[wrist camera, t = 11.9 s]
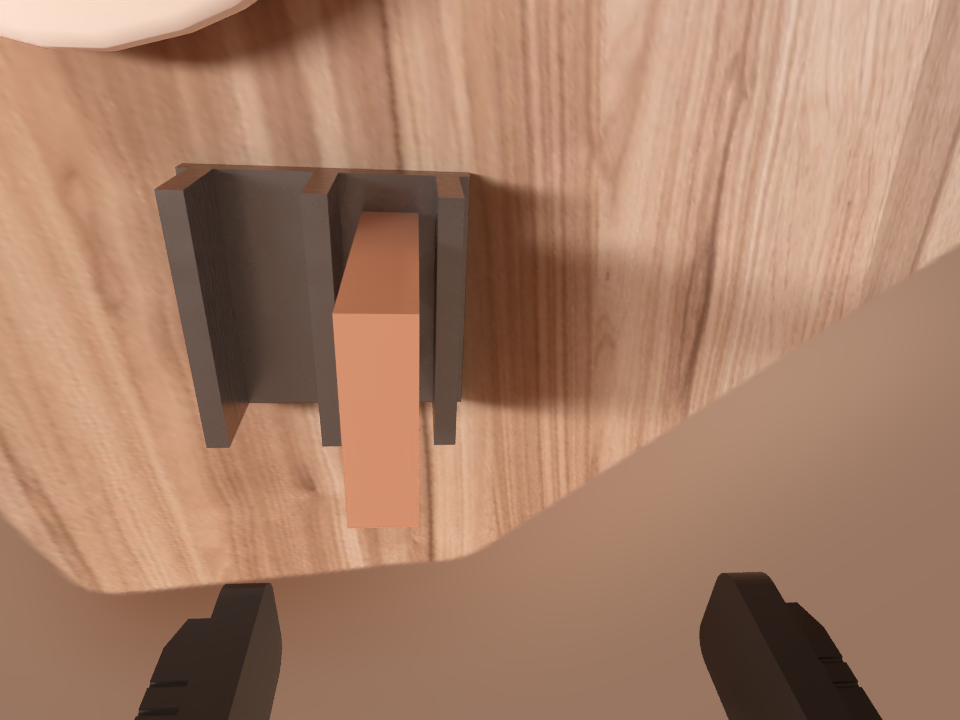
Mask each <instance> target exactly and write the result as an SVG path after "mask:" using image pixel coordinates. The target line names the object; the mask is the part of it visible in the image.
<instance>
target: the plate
mask: <svg viewBox="0 0 960 720" xmlns="http://www.w3.org/2000/svg"><path fill="white" fill-rule="evenodd" d="M256 1H258V0H0V36H1V37H5V38H9V39H13V40H16V41H20V42H24V43H28V44H32V45H36V46H40V47H44V48H47V49H51V50H70V51H108V52H115V51H119V50H123V49H127V48H131V47H135V46H140V45H144V44H148V43H152V42H156V41H160V40H165V39H169V38H173V37H177V36H181V35H186V34H190V33H193V32H195V31H198V30H200V29H202V28H204V27H207V26H209V25H211V24H213V23H216V22H218V21H220V20H222V19H224V18H227V17H229V16H231V15H233V14H236V13H238V12H240V11H242V10H245V9H246V8H247V7H249V6H250V5H252V4H253V3H255V2H256Z"/></svg>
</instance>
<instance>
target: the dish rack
mask: <svg viewBox="0 0 960 720" xmlns="http://www.w3.org/2000/svg"><path fill="white" fill-rule="evenodd" d="M175 169H176V174H177V175H176V176H174V177H173V178H171V179H170V180H168V181H167V182H165V183H164V184H162V185H160V186H159V187H157V188H156V189H154V190H155V195H156V200H157V205H158V210H159V215H160V220H161V225H162V230H163V235H164V240H165V245H166V249H167V254H168V259H169V264H170V269H171V274H172V279H173V284H174V289H175V294H176V299H177V304H178V309H179V314H180V318H181V323H182V328H183V333H184V338H185V343H186V348H187V353H188V358H189V363H190V368H191V373H192V378H193V383H194V387H195V392H196V397H197V402H198V407H199V412H200V417H201V422H202V427H203V432H204V437H205V442H206V447H207V448H230V445H231V443H232V441H233V438H234V436H235V434H236V432H237V429H238V427H239V425H240V423H241V420H242V418H243V416H244V413H245V411H246V409H247V407H248V404H249V403H319V412H320V424H321V435H322V446H342V443H341V428H340V414H339V400H338V386H337V372H336V358H335V344H334V330H333V315H332V313H333V310H334V306H335V303H336V299H337V296H338V292H339V289H340V285H341V282H342V278H343V275H344V271H345V268H346V264H347V261H348V257H349V254H350V250H351V247H352V244H353V240H354V237H355V233H356V230H357V226H358V223H359V219H360V216H361V212H400V213H419V402H432V406H433V430H434V445H455V437H456V411H457V402H461V385H462V361H463V337H464V313H465V289H466V265H467V241H468V217H469V193H470V175H469V173H465V172H434V171H403V170H372V169H341V168H310V167H279V166H247V165H216V164H185V163H182V164H180V165H178V166H177V167H175Z"/></svg>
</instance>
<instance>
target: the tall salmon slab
mask: <svg viewBox="0 0 960 720" xmlns="http://www.w3.org/2000/svg"><path fill="white" fill-rule="evenodd" d="M332 315H333V330H334V344H335V358H336V372H337V386H338V400H339V414H340V428H341V443H342V457H343V471H344V485H345V499H346V513H347V527H348V528H382V527H419V213H400V212H361V216H360V219H359V223H358V226H357V230H356V233H355V237H354V240H353V244H352V247H351V250H350V254H349V257H348V261H347V264H346V268H345V271H344V275H343V278H342V282H341V285H340V289H339V292H338V296H337V299H336V303H335V306H334V310H333V313H332Z"/></svg>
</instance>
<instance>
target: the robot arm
mask: <svg viewBox="0 0 960 720" xmlns="http://www.w3.org/2000/svg"><path fill="white" fill-rule="evenodd" d="M281 640H282V639H281V632H280V626H279V621H278V615H277V609H276V604H275V598H274V592H273V587H272V585H271V583H244V584H225V585H224V586H223V588H222V589H221V591H220V594H219V596H218V599H217V602H216V605H215V608H214V611H213V614H212V616H211V618H208V619H207V618H205V619H188V620H187V621H186V622H185V623H184V625H183V626H182V627H181V628H180V629H179V631H178V632H177V633H176V634H175V635H174V636H173V638H172V639H171V640H170V641H169V642H168V643H167V645H166V646H165V647H164V648H163V651H162V653H161V656H160V658H159V661H158V663H157V666H156V668H155V671H154V673H153V676H152V678H151V680H150V687H149V688H147V690H146V693H145V695H144V698H143V700H142V703H141V705H140V707H139V714H138V716H136V718H135V720H269V718H270V714H271V709H272V705H273V700H274V695H275V691H276V686H277V682H278V677H279V672H280V665H281V655H282V641H281ZM700 647H701V651H702V655H703V658H704V661H705V664H706V666H707V669H708V671H709V673H710V676H711V678H712V681H713V683H714V685H715V688H716V690H717V693H718V695H719V697H720V700H721V702H722V705H723V707H724V709H725V712H726V714H727V717H728V719H729V720H882V718H881V717H880V715H879V714H878V712H877V710H876V709H875V707H874V706H873V704H872V703H871V701H870V699H869V698H868V696H867V695H866V693H865V691H864V690H863V688H862V687H859V686H858V680H857V679H856V677H855V676H854V674H853V672H852V671H851V669H850V668H849V666H848V665H847V663H846V662H845V663H844V662H843V660H842V655H841V654H840V652H839V650H838V649H837V647H836V646H835V644H834V642H833V641H832V639H831V638H830V636H829V635H828V633H827V631H826V630H825V628H824V627H823V626H822V625H821V624H820V623H819V622H818V621H816V619H814V618H813V617H812V616H811V615H810V614H809V613H808V612H807V611H806V610H805V609H804V608H803V607H801V606H800V605H799V604H798V603H797V602H795V603H785V601H784V600H783V598H782V596H781V594H780V593H779V591H778V589H777V588H776V586H775V584H774V583H773V581H772V580H771V578H770V577H769V576H768V575H767V574H765V573H763V572H745V573H744V572H743V573H721V574H720V575H719V576H718V578H717V580H716V583H715V586H714V589H713V591H712V594H711V597H710V600H709V602H708V605H707V608H706V611H705V613H704V616H703V619H702V622H701V625H700Z"/></svg>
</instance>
